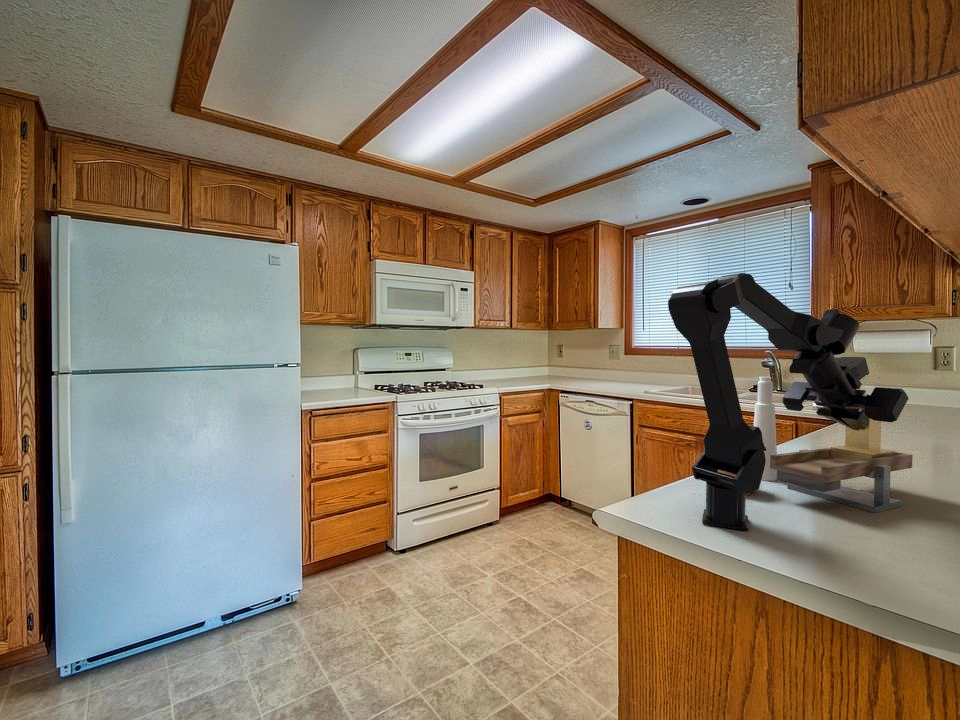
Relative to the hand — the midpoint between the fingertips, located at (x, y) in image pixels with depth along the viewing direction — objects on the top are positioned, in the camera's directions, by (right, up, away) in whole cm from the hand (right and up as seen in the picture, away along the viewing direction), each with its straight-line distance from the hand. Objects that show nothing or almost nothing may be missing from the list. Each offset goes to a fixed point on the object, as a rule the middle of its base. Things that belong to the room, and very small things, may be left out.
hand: (857, 428), depth 90 cm
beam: (-5, -9, -2) cm, 10 cm away
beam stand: (-5, -13, -2) cm, 14 cm away
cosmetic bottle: (-11, -13, +12) cm, 20 cm away
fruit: (-22, -13, +3) cm, 25 cm away
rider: (+2, -6, +1) cm, 7 cm away
